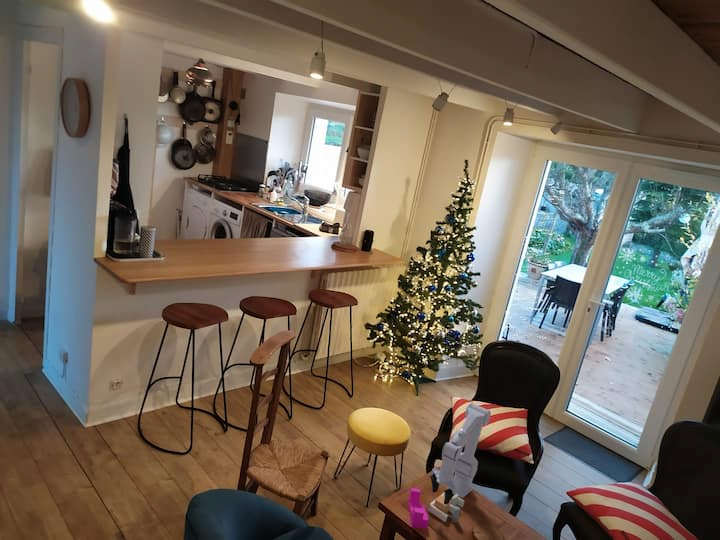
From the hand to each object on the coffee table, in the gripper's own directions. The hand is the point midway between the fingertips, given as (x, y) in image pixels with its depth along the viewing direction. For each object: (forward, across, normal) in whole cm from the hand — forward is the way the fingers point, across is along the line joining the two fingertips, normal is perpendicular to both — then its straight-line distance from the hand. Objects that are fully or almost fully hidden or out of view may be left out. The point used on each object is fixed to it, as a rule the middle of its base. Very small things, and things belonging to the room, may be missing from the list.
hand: (440, 497), depth 223 cm
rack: (+10, -3, +8) cm, 13 cm away
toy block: (+10, -4, -7) cm, 13 cm away
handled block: (+10, +1, +5) cm, 11 cm away
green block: (+10, -4, +11) cm, 16 cm away
